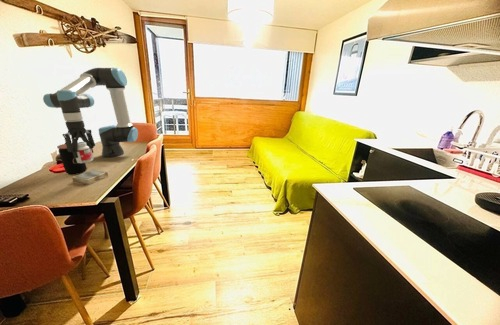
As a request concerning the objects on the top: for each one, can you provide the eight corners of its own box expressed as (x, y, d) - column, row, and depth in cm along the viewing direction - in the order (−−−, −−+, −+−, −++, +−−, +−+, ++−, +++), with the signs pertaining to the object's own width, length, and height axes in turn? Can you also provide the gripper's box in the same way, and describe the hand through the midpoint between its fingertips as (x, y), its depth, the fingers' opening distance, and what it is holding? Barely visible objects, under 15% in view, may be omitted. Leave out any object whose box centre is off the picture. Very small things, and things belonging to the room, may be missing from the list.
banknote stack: (93, 174, 127) (92, 169, 126) (108, 176, 124) (107, 171, 123) (73, 182, 116) (71, 176, 115) (89, 184, 113) (87, 179, 112)
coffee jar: (78, 175, 125) (69, 147, 119) (61, 175, 125) (51, 147, 119) (91, 168, 135) (83, 143, 129) (75, 168, 135) (67, 142, 129)
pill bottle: (76, 162, 114) (71, 143, 110) (88, 159, 120) (83, 141, 116) (83, 163, 112) (78, 144, 108) (95, 160, 117) (90, 142, 114)
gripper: (86, 118, 117) (96, 155, 125) (48, 122, 100) (62, 165, 108) (96, 118, 116) (106, 156, 124) (59, 123, 98) (73, 167, 106)
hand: (85, 160), depth 116 cm, fingers closed on pill bottle, 6 cm apart
